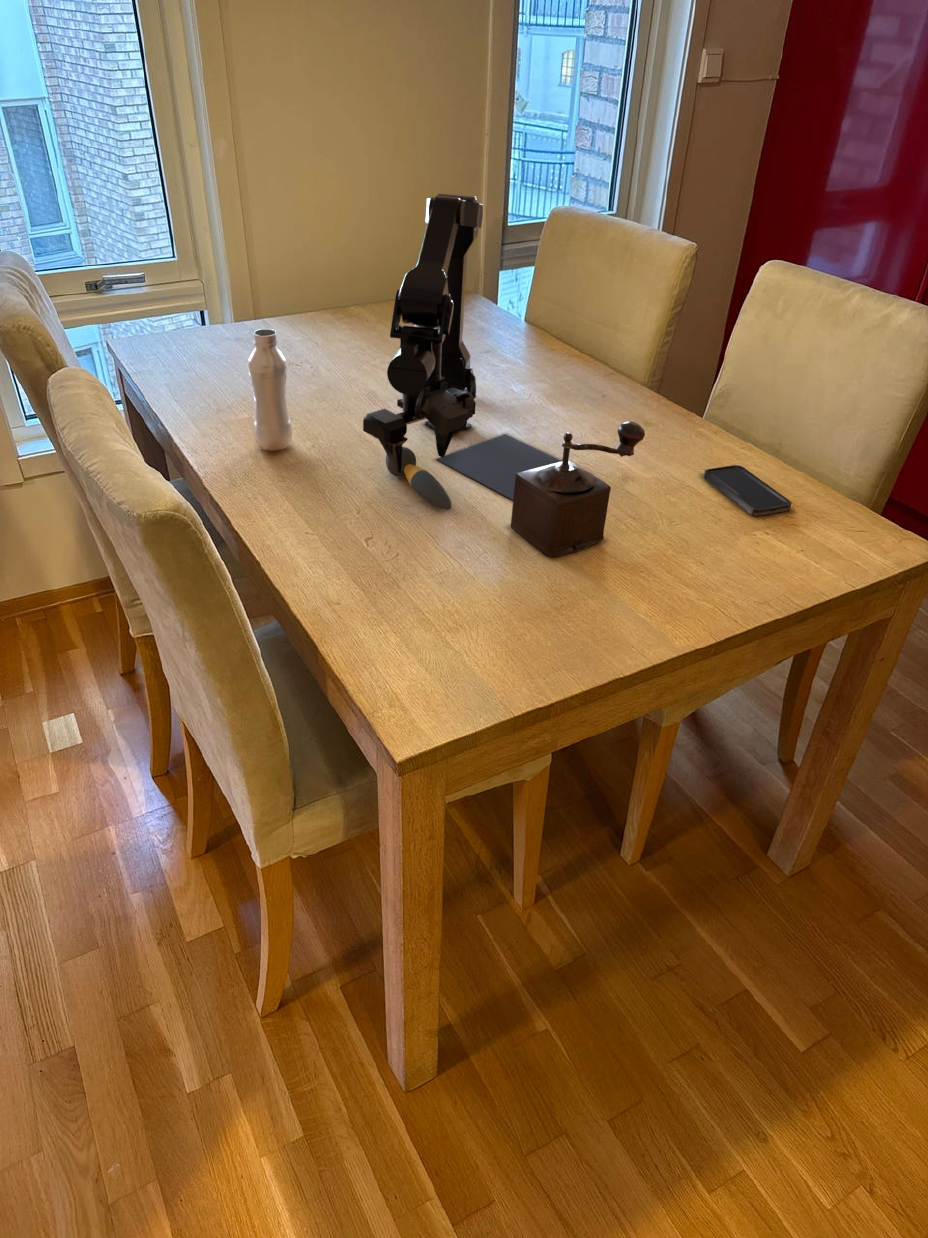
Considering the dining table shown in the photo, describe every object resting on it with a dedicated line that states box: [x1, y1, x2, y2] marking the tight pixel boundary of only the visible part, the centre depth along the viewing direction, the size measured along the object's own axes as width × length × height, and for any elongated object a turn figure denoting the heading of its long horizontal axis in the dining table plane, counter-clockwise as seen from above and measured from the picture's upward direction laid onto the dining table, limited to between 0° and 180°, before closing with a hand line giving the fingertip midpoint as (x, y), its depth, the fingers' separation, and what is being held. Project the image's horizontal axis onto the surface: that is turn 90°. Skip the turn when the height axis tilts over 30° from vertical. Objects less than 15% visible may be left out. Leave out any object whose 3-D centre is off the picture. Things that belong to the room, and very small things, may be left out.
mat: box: [435, 433, 562, 502], centre depth 154 cm, size 20×17×1 cm
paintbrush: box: [385, 446, 452, 511], centre depth 145 cm, size 20×5×5 cm, turn 38°
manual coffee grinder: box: [510, 420, 646, 559], centre depth 132 cm, size 16×11×18 cm
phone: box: [703, 464, 793, 517], centre depth 150 cm, size 8×1×15 cm
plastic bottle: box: [247, 328, 293, 451], centre depth 150 cm, size 6×7×20 cm
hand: (419, 464), depth 144 cm, fingers open, 9 cm apart
